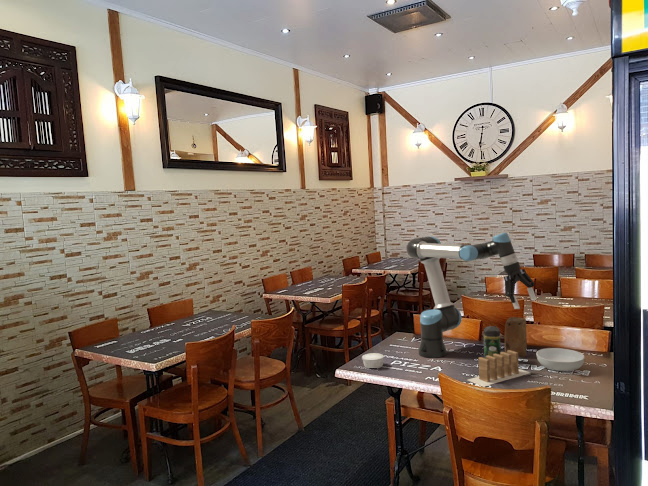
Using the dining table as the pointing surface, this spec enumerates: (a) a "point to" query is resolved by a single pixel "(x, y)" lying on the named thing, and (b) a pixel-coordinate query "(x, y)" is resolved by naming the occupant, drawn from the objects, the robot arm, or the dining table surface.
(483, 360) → the domino
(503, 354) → the domino
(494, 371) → the domino
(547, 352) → the serving bowl
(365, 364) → the ramekin
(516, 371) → the domino
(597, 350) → the dining table surface
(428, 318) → the robot arm
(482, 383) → the domino board
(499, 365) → the domino
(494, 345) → the coffee jar
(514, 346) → the block
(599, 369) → the dining table surface
